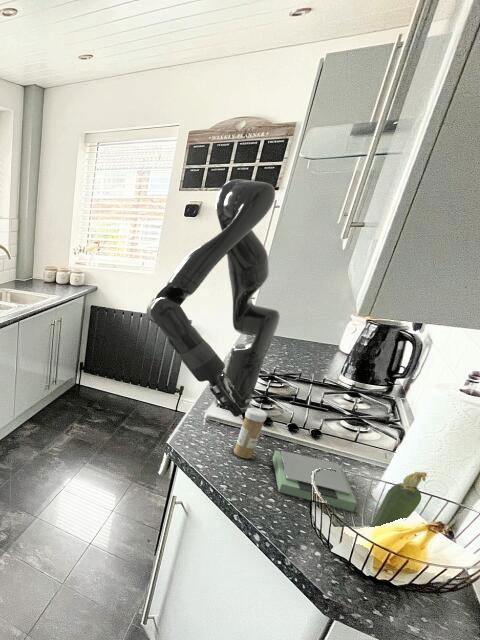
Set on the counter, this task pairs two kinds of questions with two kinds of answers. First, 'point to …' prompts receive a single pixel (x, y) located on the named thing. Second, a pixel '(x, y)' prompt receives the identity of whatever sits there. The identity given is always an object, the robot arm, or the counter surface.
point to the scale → (305, 490)
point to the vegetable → (400, 500)
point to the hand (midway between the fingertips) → (238, 408)
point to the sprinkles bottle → (250, 432)
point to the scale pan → (302, 467)
